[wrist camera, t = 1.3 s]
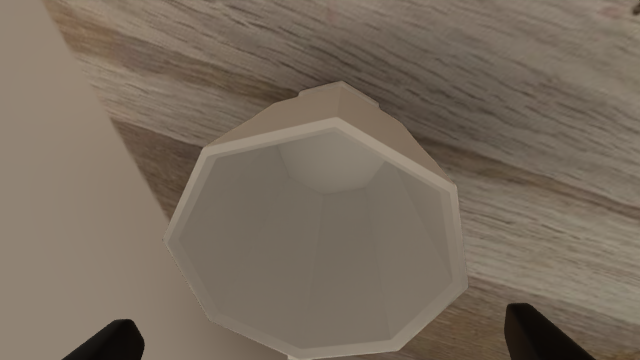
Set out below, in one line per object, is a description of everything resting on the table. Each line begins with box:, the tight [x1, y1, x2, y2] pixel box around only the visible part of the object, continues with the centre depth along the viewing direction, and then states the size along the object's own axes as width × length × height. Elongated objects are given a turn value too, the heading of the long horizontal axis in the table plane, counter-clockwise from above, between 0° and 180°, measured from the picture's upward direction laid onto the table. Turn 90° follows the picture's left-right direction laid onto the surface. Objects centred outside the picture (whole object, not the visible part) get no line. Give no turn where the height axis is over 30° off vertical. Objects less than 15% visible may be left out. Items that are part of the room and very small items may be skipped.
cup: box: [162, 81, 469, 360], centre depth 13 cm, size 7×10×8 cm
